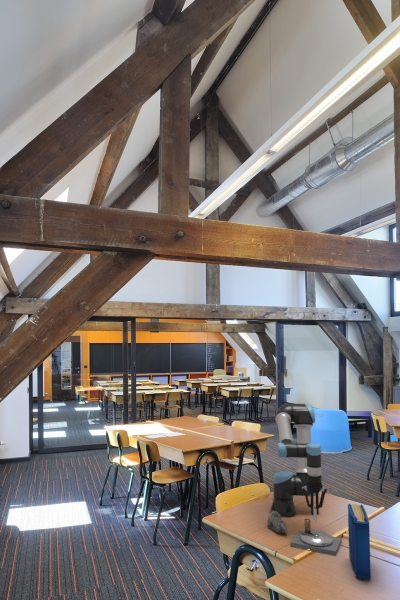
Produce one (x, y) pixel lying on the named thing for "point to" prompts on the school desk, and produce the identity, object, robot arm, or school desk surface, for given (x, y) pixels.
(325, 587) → the school desk surface
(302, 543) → the stand
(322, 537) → the crank wheel
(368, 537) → the book
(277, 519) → the mineral rock
